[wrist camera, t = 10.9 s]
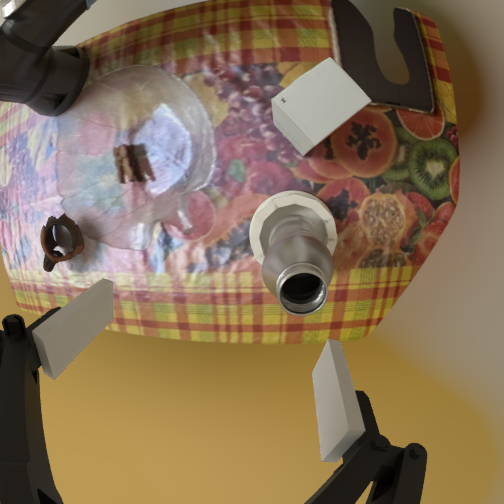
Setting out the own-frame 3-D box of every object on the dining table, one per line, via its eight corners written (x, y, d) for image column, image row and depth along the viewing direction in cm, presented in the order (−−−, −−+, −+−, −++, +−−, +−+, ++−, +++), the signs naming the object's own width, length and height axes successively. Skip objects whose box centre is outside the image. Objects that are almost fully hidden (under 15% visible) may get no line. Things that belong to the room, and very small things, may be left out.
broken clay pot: (56, 203, 42) (44, 207, 35) (95, 221, 47) (89, 228, 40) (38, 257, 43) (26, 269, 35) (75, 275, 47) (68, 290, 40)
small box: (303, 157, 36) (314, 147, 23) (272, 124, 35) (268, 99, 22) (344, 123, 34) (373, 100, 21) (314, 91, 33) (329, 54, 20)
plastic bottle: (323, 244, 38) (360, 310, 19) (280, 264, 39) (279, 344, 20) (304, 203, 37) (329, 233, 18) (260, 224, 38) (240, 274, 19)
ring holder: (262, 180, 37) (261, 180, 34) (346, 205, 37) (351, 207, 34) (241, 261, 41) (237, 268, 38) (319, 283, 41) (322, 292, 37)
